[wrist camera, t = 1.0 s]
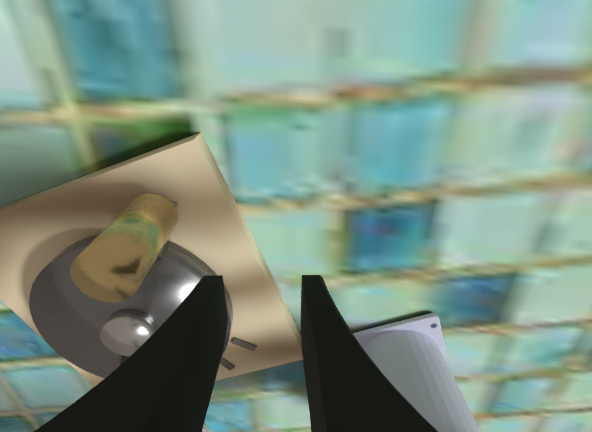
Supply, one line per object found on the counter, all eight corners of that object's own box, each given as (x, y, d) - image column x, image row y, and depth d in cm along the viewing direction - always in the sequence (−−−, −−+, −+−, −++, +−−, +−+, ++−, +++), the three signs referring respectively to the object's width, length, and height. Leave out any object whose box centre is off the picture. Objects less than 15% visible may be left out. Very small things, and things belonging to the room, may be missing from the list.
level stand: (304, 342, 26) (305, 361, 24) (122, 389, 28) (113, 408, 27) (200, 132, 18) (192, 141, 16) (-44, 223, 20) (-71, 238, 19)
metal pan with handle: (205, 392, 26) (182, 491, 20) (45, 359, 24) (-33, 461, 18) (274, 216, 18) (268, 296, 12) (47, 144, 16) (-88, 201, 10)
